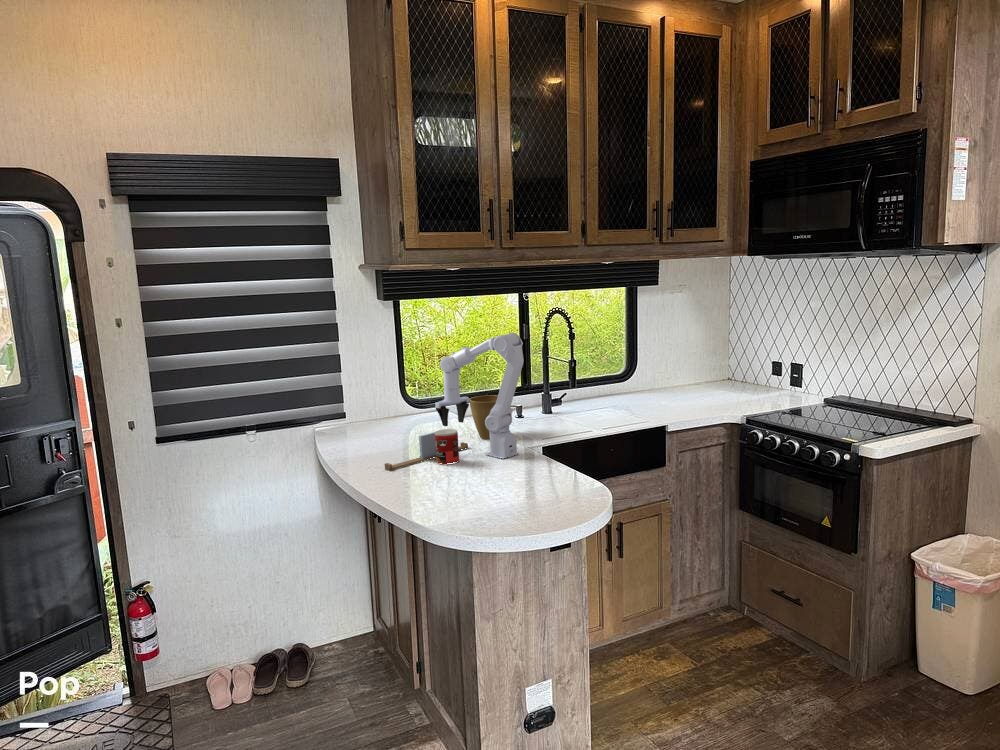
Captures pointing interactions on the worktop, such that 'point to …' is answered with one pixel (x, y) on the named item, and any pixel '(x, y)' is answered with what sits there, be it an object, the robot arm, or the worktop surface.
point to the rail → (416, 460)
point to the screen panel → (427, 445)
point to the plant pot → (482, 412)
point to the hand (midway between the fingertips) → (453, 424)
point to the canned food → (447, 446)
